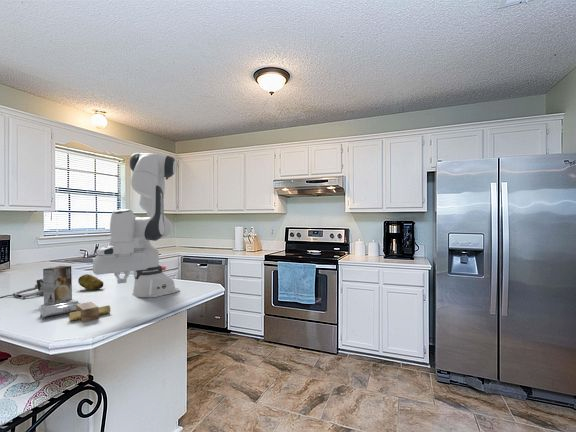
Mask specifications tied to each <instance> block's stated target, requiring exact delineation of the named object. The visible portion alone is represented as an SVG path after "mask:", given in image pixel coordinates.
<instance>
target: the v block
mask: <svg viewBox="0 0 576 432" xmlns="http://www.w3.org/2000/svg"><path fill="white" fill-rule="evenodd" d="M76 304H81V302H79V301H78V300H75V301H68V302H61V303H57V304H50V305H46V306H41V307H40V308H39V313H40V314H39V316H40V318H41V319H42V320H43V321H46V320H50V319H55V318H56V319H57V318H60V317H65V316H69V313H71V312H76Z"/></svg>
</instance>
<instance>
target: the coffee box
mask: <svg viewBox="0 0 576 432" xmlns="http://www.w3.org/2000/svg"><path fill="white" fill-rule="evenodd" d="M42 272H43V273H42V276H43V277H42V280H43V284H44V293H43V304H45V305H57V304H61V303H64V302H66V300H67V301H70V300H72V299H73V286H72V285H73V284H72V283H73V281H72V280H73V278H72V275H73V274H72V265H58V266H57V265H56V266H54V267H53V266H52V267H48V268H46V267H45V268H43V269H42Z"/></svg>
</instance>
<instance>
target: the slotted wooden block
mask: <svg viewBox="0 0 576 432" xmlns="http://www.w3.org/2000/svg"><path fill="white" fill-rule="evenodd" d="M80 303H81V302H80ZM99 307H100V306H98V305H96V304H95V303H94V302H93V301H89V302H82V303H81V304H76V312H77V311H81V319H79V320H80V321H81V322H82V323H86V322H91V321H97V320H99V318H100V317H99V316H100V315H99Z"/></svg>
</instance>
